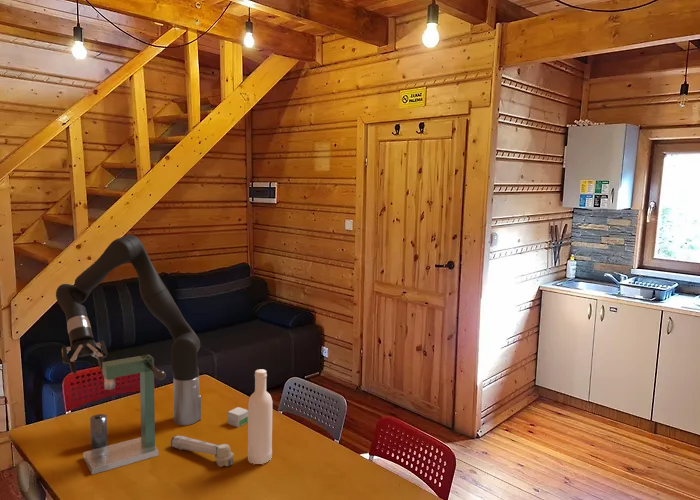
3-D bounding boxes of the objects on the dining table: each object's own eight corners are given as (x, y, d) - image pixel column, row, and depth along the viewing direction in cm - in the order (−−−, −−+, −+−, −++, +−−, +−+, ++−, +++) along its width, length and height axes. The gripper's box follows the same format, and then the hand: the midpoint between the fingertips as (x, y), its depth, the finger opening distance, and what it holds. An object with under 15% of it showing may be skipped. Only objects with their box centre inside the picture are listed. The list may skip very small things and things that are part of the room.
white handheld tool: (180, 432, 177) (235, 440, 165) (182, 451, 178) (237, 461, 166) (168, 438, 173) (224, 447, 161) (170, 457, 173) (226, 468, 161)
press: (147, 440, 178) (145, 351, 174) (167, 467, 162) (166, 369, 158) (83, 458, 165) (80, 362, 162) (99, 488, 149) (96, 382, 146)
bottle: (276, 455, 171) (277, 368, 167) (264, 467, 163) (266, 376, 160) (255, 451, 173) (255, 365, 170) (242, 462, 166) (243, 373, 163)
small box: (238, 428, 190) (238, 415, 189) (227, 423, 193) (227, 411, 192) (248, 422, 195) (249, 410, 194) (237, 418, 198) (237, 406, 197)
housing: (105, 440, 177) (104, 411, 176) (108, 446, 173) (108, 417, 172) (89, 444, 174) (88, 415, 173) (92, 450, 170) (92, 420, 169)
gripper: (59, 328, 181) (67, 369, 173) (102, 323, 190) (112, 361, 183) (56, 339, 185) (64, 379, 178) (98, 333, 195) (108, 371, 187)
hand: (88, 370), depth 180 cm, fingers open, 8 cm apart
